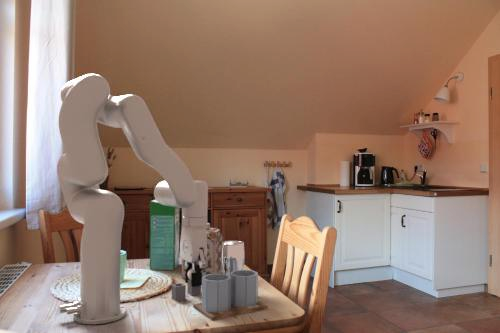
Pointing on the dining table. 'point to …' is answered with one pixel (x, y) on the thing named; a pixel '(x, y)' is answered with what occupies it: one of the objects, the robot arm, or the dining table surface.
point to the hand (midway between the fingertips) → (193, 283)
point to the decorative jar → (211, 253)
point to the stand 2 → (193, 289)
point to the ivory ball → (190, 273)
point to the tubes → (229, 290)
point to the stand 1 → (178, 292)
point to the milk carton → (164, 236)
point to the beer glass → (232, 256)
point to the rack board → (230, 310)
